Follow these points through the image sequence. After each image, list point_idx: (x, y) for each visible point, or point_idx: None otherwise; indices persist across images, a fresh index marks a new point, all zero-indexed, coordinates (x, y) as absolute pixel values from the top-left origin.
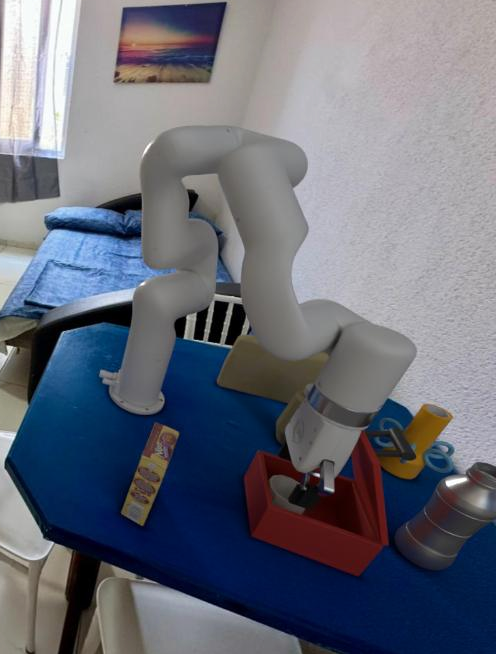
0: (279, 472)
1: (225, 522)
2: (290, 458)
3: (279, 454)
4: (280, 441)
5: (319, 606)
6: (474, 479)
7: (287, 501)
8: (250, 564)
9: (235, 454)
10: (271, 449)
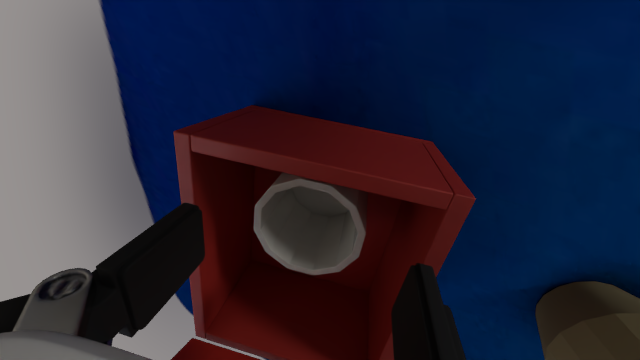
0: (410, 234)
1: (267, 47)
2: (402, 300)
3: (419, 271)
4: (583, 286)
5: (168, 180)
6: None
7: (255, 206)
8: (184, 82)
9: (534, 145)
10: (554, 252)
